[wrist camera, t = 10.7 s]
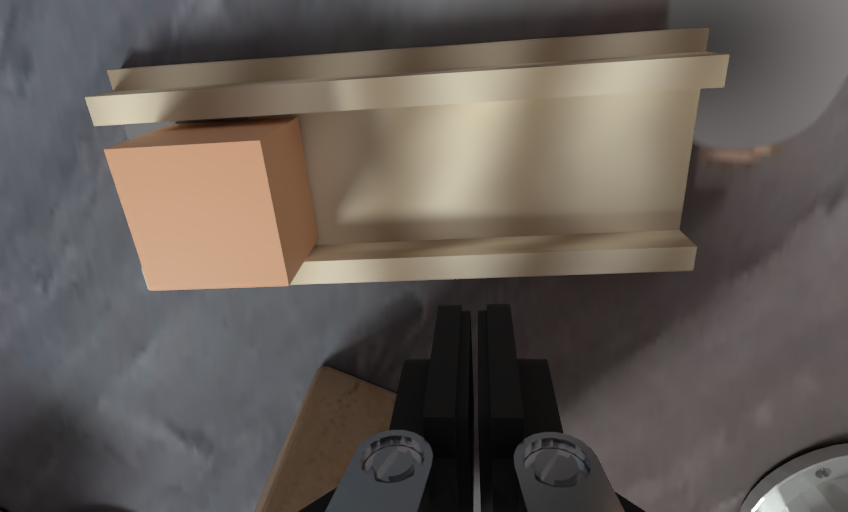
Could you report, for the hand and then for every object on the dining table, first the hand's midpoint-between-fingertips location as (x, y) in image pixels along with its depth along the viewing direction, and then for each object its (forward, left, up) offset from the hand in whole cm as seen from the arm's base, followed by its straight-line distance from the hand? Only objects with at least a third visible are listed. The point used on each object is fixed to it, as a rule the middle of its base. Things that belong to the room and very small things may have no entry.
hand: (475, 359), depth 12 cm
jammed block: (+10, -1, -13) cm, 17 cm away
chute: (+3, -1, -15) cm, 15 cm away
